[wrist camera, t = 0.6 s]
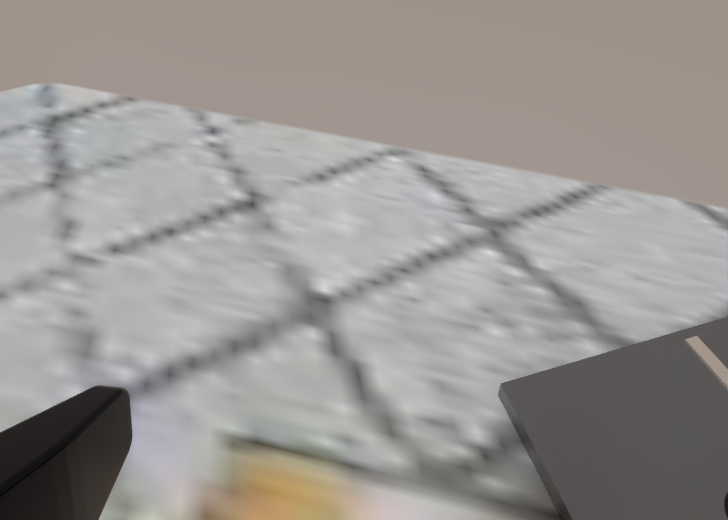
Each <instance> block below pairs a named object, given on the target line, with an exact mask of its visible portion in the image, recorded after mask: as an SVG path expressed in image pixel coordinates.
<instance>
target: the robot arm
mask: <svg viewBox="0 0 728 520" xmlns="http://www.w3.org/2000/svg"><path fill="white" fill-rule="evenodd" d="M131 442H132V422H131V408H130V397H129V393H128V391H127V390H126V389H124V388H121V387H112V386H102V385H100V386H95V387H92V388H90V389H88V390H86V391H84V392H82V393H80V394H78V395H76V396H74V397H72V398H70V399H68V400H66V401H63V402H61V403H59V404H57V405H55V406H53V407H51V408H49V409H47V410H45V411H43V412H41V413H39V414H37V415H35V416H33V417H31V418H29V419H27V420H25V421H23V422H21V423H19V424H17V425H15V426H13V427H10V428H8V429H6V430H4V431H2V432H0V520H99V517H100V515H101V513H102V511H103V508H104V506H105V504H106V502H107V499H108V497H109V495H110V493H111V490H112V488H113V486H114V484H115V481H116V479H117V477H118V475H119V472H120V470H121V468H122V466H123V463H124V461H125V459H126V457H127V454H128V452H129V449H130V446H131ZM724 509H725V514H726V516H727V519H728V492H727V494H726V496H725V499H724Z"/></svg>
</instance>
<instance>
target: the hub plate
mask: <svg viewBox="0 0 728 520" xmlns="http://www.w3.org/2000/svg"><path fill="white" fill-rule="evenodd" d="M498 396H499V398H500V399H501V401H502V403H503V405H504V407H505V409H506V411H507V413H508V415H509V417H510V419H511V421H512V423H513V425H514V427H515V429H516V431H517V432H518V434H519V436H520V438H521V440H522V442H523V444H524V446H525V448H526V450H527V452H528V454H529V456H530V458H531V460H532V462H533V463H534V465H535V467H536V469H537V471H538V473H539V475H540V477H541V479H542V481H543V483H544V485H545V487H546V489H547V491H548V493H549V495H550V496H551V498H552V500H553V502H554V504H555V506H556V508H557V510H558V512H559V514H560V516H561V518H562V520H728V519H727V516H726V514H725V509H724V499H725V496H726V494H727V492H728V317H726V318H722V319H719V320H715V321H712V322H709V323H705V324H702V325H698V326H695V327H692V328H688V329H685V330H681V331H678V332H675V333H671V334H668V335H664V336H661V337H658V338H654V339H651V340H647V341H644V342H641V343H637V344H634V345H630V346H627V347H624V348H620V349H617V350H614V351H610V352H607V353H603V354H600V355H597V356H593V357H590V358H586V359H583V360H580V361H576V362H573V363H569V364H566V365H563V366H559V367H556V368H552V369H549V370H546V371H542V372H539V373H535V374H532V375H529V376H525V377H522V378H518V379H515V380H512V381H508V382H505V383H501V385H500V390H499V394H498Z"/></svg>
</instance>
